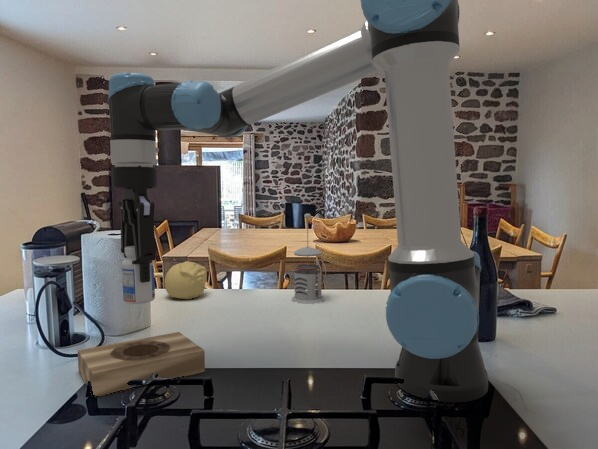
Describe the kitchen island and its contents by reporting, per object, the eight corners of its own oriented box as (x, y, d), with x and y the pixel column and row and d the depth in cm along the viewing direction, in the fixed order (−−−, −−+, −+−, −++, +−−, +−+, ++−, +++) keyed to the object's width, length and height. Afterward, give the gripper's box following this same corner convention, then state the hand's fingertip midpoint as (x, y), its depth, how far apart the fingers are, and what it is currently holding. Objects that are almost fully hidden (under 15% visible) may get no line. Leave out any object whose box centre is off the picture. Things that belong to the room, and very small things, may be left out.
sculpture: (198, 302, 139) (197, 265, 138) (158, 301, 141) (157, 264, 140) (212, 293, 150) (211, 258, 149) (175, 292, 153) (174, 257, 152)
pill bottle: (153, 296, 92) (152, 244, 91) (156, 302, 87) (154, 247, 86) (122, 298, 90) (120, 245, 89) (123, 305, 85) (121, 249, 84)
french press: (309, 294, 149) (309, 211, 147) (336, 301, 140) (336, 213, 138) (284, 299, 143) (283, 213, 141) (310, 307, 134) (310, 215, 132)
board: (204, 371, 89) (204, 350, 89) (93, 397, 79) (92, 373, 78) (179, 351, 100) (179, 331, 100) (78, 371, 89) (77, 350, 89)
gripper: (173, 164, 80) (177, 304, 82) (140, 167, 96) (144, 285, 98) (126, 164, 76) (131, 311, 78) (100, 167, 91) (105, 289, 94)
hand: (138, 296), depth 88 cm, fingers closed on pill bottle, 5 cm apart
